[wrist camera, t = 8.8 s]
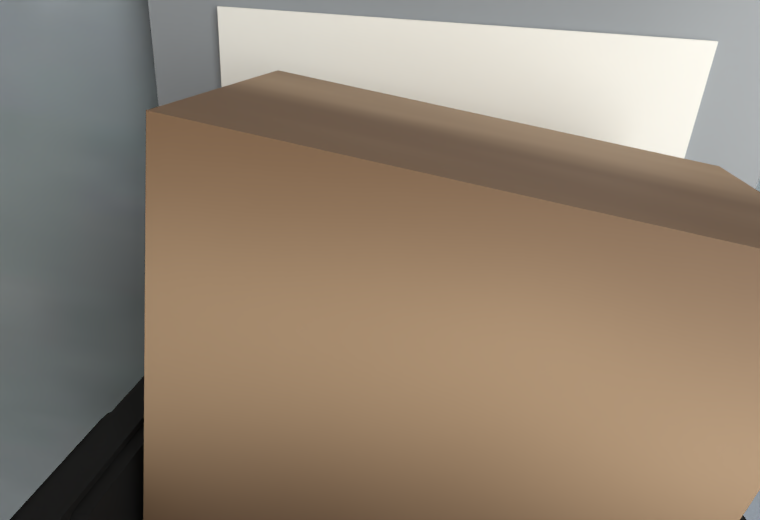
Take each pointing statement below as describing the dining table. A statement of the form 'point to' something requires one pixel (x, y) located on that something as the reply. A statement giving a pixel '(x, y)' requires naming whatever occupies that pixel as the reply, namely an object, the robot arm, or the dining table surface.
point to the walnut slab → (439, 316)
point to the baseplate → (500, 62)
